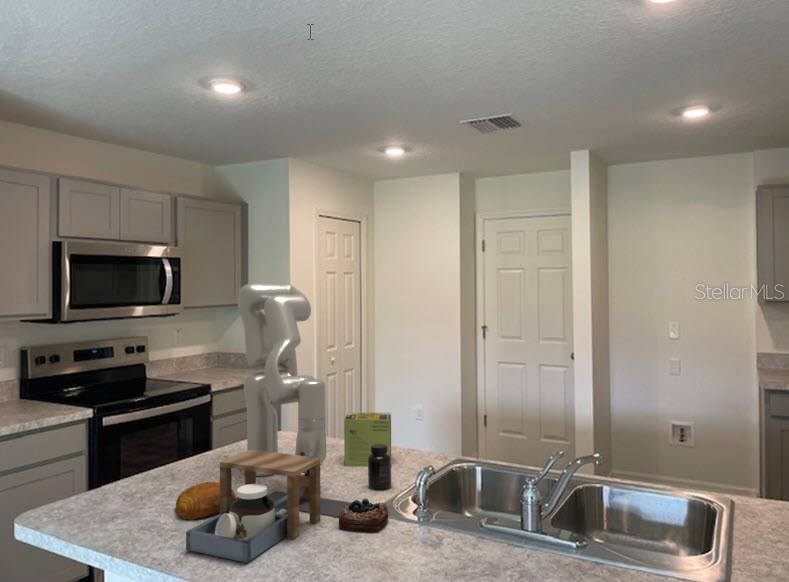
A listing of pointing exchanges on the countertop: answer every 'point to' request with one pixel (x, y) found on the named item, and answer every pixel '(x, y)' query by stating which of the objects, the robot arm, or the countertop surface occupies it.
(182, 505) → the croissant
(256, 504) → the spread jar
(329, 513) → the pit mat
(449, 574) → the countertop surface
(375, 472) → the supplement bottle
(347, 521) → the pastry
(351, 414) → the protein box
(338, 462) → the countertop surface
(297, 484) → the walnut table
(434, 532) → the countertop surface
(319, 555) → the countertop surface
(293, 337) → the robot arm
